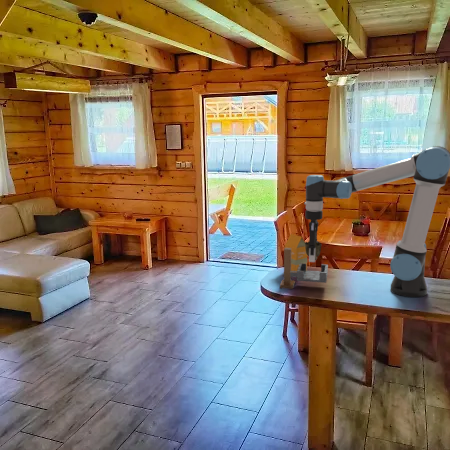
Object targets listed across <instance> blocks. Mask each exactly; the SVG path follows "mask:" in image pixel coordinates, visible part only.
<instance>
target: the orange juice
mask: <svg viewBox="0 0 450 450" xmlns="http://www.w3.org/2000/svg"><path fill="white" fill-rule="evenodd" d="M305 243H306V241H305V239H304V238H303V236H302V235H297V234H294V233H290V234H289V237H288V238H287V240H286V242H285V244H284V249H285V248H292V249H291V271H297V270H298V267H299V264H300V263H306V270H307V271H308V255H307V254H306V248H305Z"/></svg>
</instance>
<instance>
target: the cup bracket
mask: <svg viewBox="0 0 450 450" xmlns="http://www.w3.org/2000/svg"><path fill="white" fill-rule="evenodd" d="M291 249H292V248H285V247H284V249H283V279H282V280H281V282H280V284H279V289H285V290H286V289H288V290H293V289H294V287H295V285H296V281H297V282H308V283H310V282H311V283H323V284H324V283H325V284H326V283H327V279H328V276H329V275H328V272H329V264H324V263H321V264H320V265H321V266H320V271H319V270H308V269H307V270H306V263H300V264H299V267H298V270H297V271H291ZM292 278H296V281H295V280H294V279H292Z"/></svg>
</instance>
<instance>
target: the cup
mask: <svg viewBox="0 0 450 450" xmlns="http://www.w3.org/2000/svg"><path fill="white" fill-rule="evenodd" d="M317 241H318V240H317ZM317 241H316V242H315V261H317V259H318V257H319V256H320V254H321V251H322V244H323V243H321V242H320V241H318V242H317ZM308 247H309V241H305V248H306V254H307V257H309V248H308Z"/></svg>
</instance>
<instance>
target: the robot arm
mask: <svg viewBox="0 0 450 450" xmlns="http://www.w3.org/2000/svg"><path fill="white" fill-rule="evenodd" d="M449 171H450V151H449V150H448V149H447V148H446V147H443V146H440V145H437V146H436V145H435V146H434V145H433V146H430V147H427V148H425V149H423V150H422V151H421V152H417V153H415V154H412V156H411V157H409V158H406V159H402V160H399V161H396V162H393V163H389V164H386V165H383V166H378V167H375V168H372V169H369V170H366V171H365V170H364V171H362V172H359V173H356V174H352V175H348V176H344V177H340V178H339V179H336V180H327V179H326V180H325V178H324V176H323V175H321V174H310V175H307V176H306V181H305V182H306V183H305V202H304V204H303V205H305V209H306V210H305V214H304V215H305V219H306V220H310V221H309V223H308V227H309V228H308V233H309V234H308V235H309V236H308V238H309V240H308V242H309V247H308V248H309V256H308V263H309V262H310V263H316V260H315V242H316V241H317V242H319V241H318V231H319V230H318V229H319V222H318V221H319V220H322V219H323V213H324V212H323V209H324V198H331V199H341V200H342V199H346V200H347V199H350V198H351V196H352V193H356V192H359V191H363V190H366V189H369V188H373V187H378V186H381V185H384V184H388V183H392V182H397V181H399V180H403V179H407V178H410V177H413V178H412V179H413V181H414V182H415V187H414V192H413V195H412V199H411V203H410V206H409V210H408V214H407V218H406V222H405V227H404V230H403V235H402V237H401V240H398V241H397V243H396V245H395V249H394V253H393V257H392V259H391V261H390V264H389V265H390V271H391V273H392V274H393V275H394V277H393V278H392V281H391V283H390V291H391V292H392V293H393V294H395V295H398V296H402V297H408V298H421V297H425V296H427V294H428V286H427V283H426V279H425V266H426V256H427V251H428V249H427V244H426V240H427V234H428V232H429V228H430V224H431V221H432V216H433V214H434V211H435V207H436V203H437V200H438V196H439V195H438V194H439V192H440V189H441V187H444V186H445V185H446V182H447V179H448V175H449Z"/></svg>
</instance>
